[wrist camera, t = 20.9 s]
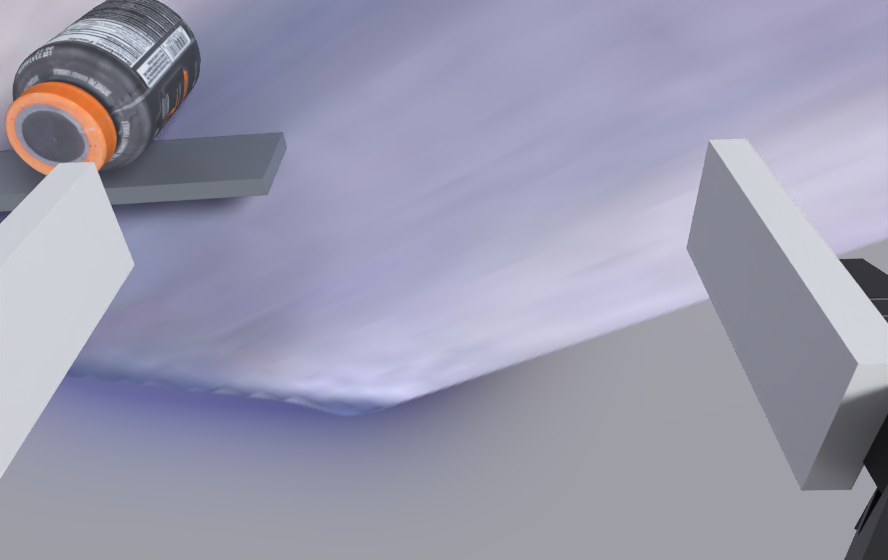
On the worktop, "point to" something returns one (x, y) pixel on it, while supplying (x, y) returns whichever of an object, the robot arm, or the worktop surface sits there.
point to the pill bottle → (102, 86)
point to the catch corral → (170, 171)
